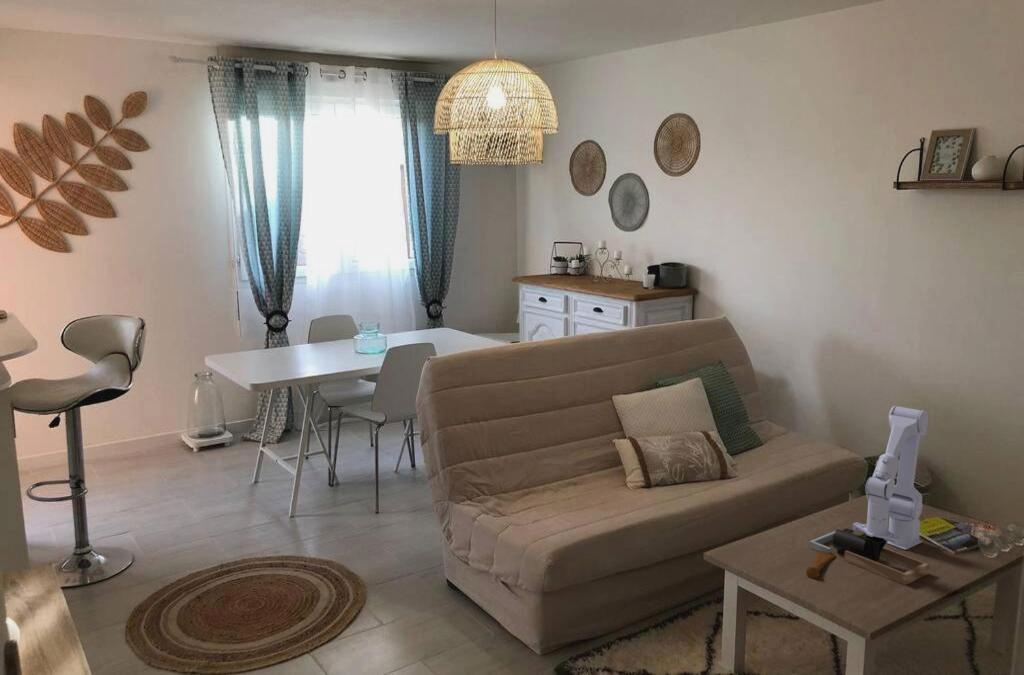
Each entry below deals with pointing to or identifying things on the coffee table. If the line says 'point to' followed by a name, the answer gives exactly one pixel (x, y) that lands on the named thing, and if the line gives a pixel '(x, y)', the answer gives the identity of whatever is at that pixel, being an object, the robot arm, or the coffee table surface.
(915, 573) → the cubby
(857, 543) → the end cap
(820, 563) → the primitive tool
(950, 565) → the coffee table surface
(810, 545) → the frame
